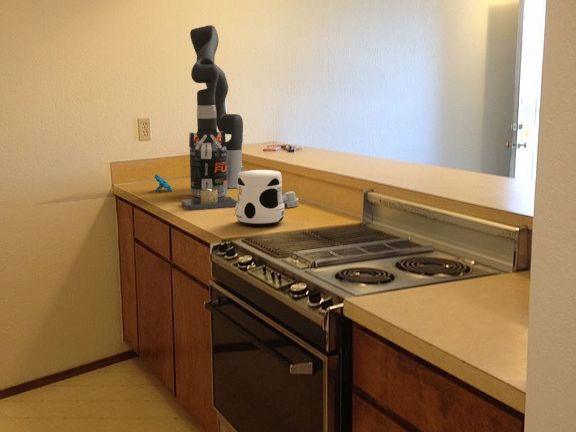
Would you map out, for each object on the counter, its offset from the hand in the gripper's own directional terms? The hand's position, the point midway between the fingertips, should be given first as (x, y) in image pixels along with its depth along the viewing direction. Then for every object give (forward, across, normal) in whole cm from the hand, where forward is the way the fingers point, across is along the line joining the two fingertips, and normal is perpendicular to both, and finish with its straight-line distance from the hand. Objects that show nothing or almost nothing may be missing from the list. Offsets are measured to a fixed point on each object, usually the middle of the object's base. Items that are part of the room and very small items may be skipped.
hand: (208, 158), depth 278 cm
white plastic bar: (+20, -20, +15) cm, 32 cm away
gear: (+19, +11, -40) cm, 46 cm away
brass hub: (+17, 0, 0) cm, 17 cm away
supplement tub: (+19, -6, -22) cm, 30 cm away
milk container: (+19, -9, +38) cm, 43 cm away
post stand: (+19, 0, 0) cm, 19 cm away
